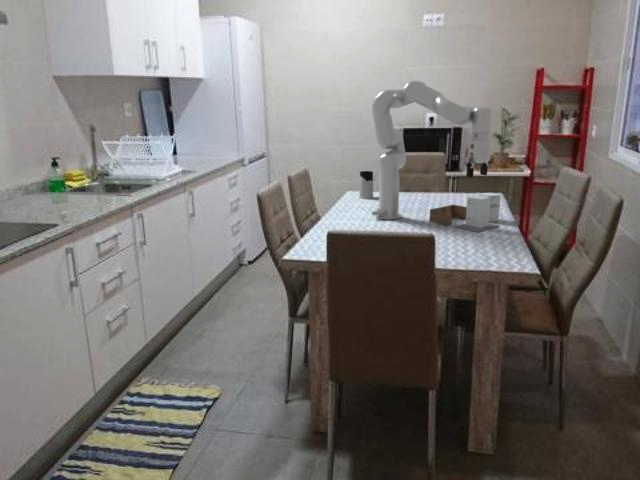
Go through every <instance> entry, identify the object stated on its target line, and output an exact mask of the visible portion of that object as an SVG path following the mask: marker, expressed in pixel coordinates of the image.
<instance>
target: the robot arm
mask: <svg viewBox="0 0 640 480" xmlns="http://www.w3.org/2000/svg"><path fill="white" fill-rule="evenodd" d="M413 103H415V104H417V105H420V106H421V107H423V108H425V109H427V110H430V111H431V112H432V113H434V114H436V115H438V116H439V117H441V118H442V119H444V120H446V121H449V122H450V123H453V124H455V125H460V126H461V125H462V126H463V125H466V124H471V134H470V135H471V136H470V141H469V146H468V153H467V156H466V157H464V164H465V167H466V175H465V176H466V177H468V178H474V169H475V168H474V166H475V164H477V165H479V164H481V165H480V172H479V175H481V176H487V175H488V166H490V165H489V164H490V162H491V159H492V155H491V143H490V142H491V141H490V130H491V122H492V121H491V119H492V108H491V107H486V106H485V107H484V106H481V107H478V106H477V107H475V106H474V107H472V106H466V105H465V106H461V105H460V104H457V103H455V102H453V101H451V100H450V99H447V98H446V97H445V96H444V95H443V93H441V92H440V91H439V90H436V89H434V88H431V87H430V86H427V84H426V83H425V82H423V81H420V80H410V81H409V82H407V83H406V84H405V85H404V86H403V87H400V88H397V89H385V90H383V91H381V92H379V93H378V94H377V95H376V96H375V98H374V99H373V102H372V106H371V111H372V116H373V123H374V131H375V135H376V143H377V145H378V147H379V148H381V149H383V150H385V152H384V153H383V154H381V155H380V157H379V159H378V161H377V162H378V163H377V164H378V165H377V166H378V173H379V174H378V175H379V178H378V183H379V186H378V187H379V188H378V189H379V191H378V196H379V197H378V207H377V210H374V211H372V212H371V215H372V216H375V218H377V219H379V220H391V219H393V220H399V219H401V218H402V214H401V213H400V212H399V206H400V205H399V204H400V203H399V202H400V174H399V170H400V169H402V168H403V167H404V166H405V164H406V162H407V156H406V149H405V143H404V137H403V135H402V132H401V131H400V130H399V129H398V128H396V127H395V128H394V124H393V118H392V115H391V111H390V110H391V109H399V108H402V107H404V106H408V105H410V104H413Z"/></svg>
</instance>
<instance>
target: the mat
mask: <svg viewBox="0 0 640 480" xmlns="http://www.w3.org/2000/svg"><path fill="white" fill-rule="evenodd" d="M498 227H500V224H495V223H489V226H486V227H483V228H478V227H473V226H468V225H466V223H463V224H459V225H455V226H454V228H457V229H461V230H466V231H470V232H474V233H481V232H485V231H488V230H492V229H496V228H498Z"/></svg>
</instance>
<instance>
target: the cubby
mask: <svg viewBox="0 0 640 480" xmlns="http://www.w3.org/2000/svg"><path fill="white" fill-rule="evenodd" d="M466 210H467V206H463V205H457V204H450V205H445V206H439V207H434V208H431V209H429V222H430V223H432V224H437V225H442V226H447V227H452V221H453V218H455V219H460V220H465V221H466Z"/></svg>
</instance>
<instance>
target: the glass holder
mask: <svg viewBox="0 0 640 480" xmlns="http://www.w3.org/2000/svg"><path fill="white" fill-rule="evenodd" d="M377 175H379V172H376V173H375V174H374V172H373V171H369V170H362V171H359V195H358V198H359V199H362V200H372V199H374V191H375V190H376V189H377V188H378V187H379V182H378V183H377V185H376V186H375V188H374V181H375V180H376V176H377Z"/></svg>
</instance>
